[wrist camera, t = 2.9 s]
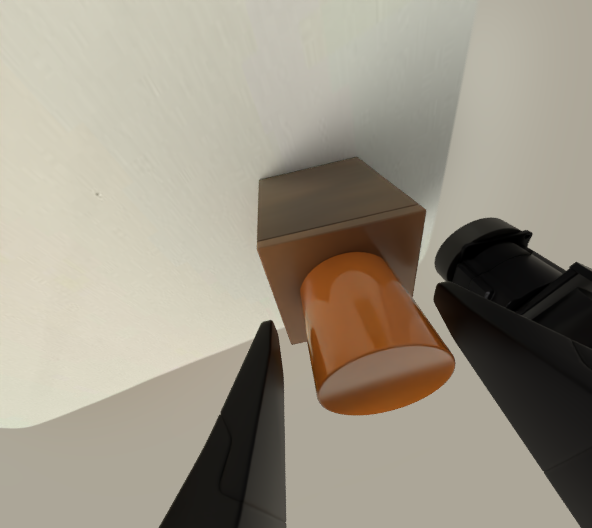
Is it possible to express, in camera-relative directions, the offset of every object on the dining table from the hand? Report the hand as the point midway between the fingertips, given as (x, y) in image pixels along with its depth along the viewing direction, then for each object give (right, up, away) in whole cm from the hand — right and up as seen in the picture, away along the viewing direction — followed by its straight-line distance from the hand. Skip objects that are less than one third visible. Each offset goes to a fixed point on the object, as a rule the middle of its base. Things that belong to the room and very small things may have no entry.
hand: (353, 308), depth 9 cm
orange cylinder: (0, +1, +1) cm, 1 cm away
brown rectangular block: (-1, +5, +7) cm, 8 cm away
